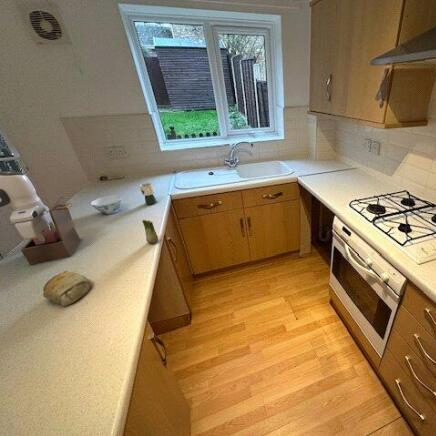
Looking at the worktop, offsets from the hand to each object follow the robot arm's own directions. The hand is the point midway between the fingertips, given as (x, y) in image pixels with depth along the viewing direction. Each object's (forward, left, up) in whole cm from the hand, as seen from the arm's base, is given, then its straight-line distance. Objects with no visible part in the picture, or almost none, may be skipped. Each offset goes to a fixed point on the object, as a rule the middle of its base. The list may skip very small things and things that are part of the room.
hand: (46, 237), depth 106 cm
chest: (+1, 0, -8) cm, 8 cm away
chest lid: (+8, 0, +8) cm, 11 cm away
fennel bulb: (+41, -11, -8) cm, 43 cm away
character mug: (+38, +42, -8) cm, 57 cm away
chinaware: (+16, +39, -8) cm, 43 cm away
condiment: (-6, +17, -8) cm, 20 cm away
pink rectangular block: (0, 0, -2) cm, 2 cm away
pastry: (+15, -36, -8) cm, 40 cm away
